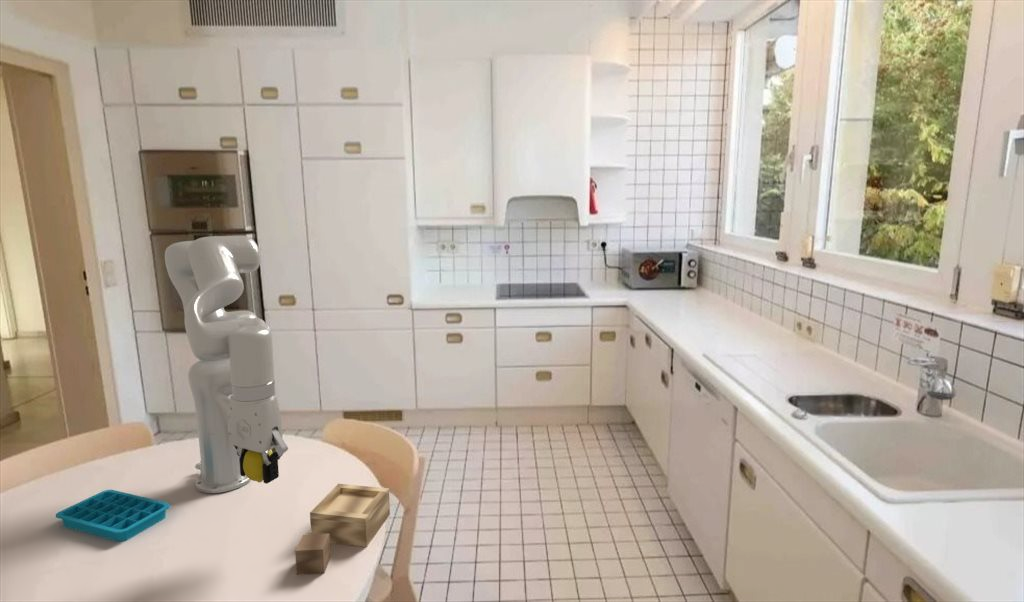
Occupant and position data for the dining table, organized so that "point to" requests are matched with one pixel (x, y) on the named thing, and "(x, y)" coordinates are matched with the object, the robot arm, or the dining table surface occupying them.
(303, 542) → the walnut cube
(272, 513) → the dining table surface
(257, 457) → the lemon
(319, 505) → the oak tray
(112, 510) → the ice cube tray
